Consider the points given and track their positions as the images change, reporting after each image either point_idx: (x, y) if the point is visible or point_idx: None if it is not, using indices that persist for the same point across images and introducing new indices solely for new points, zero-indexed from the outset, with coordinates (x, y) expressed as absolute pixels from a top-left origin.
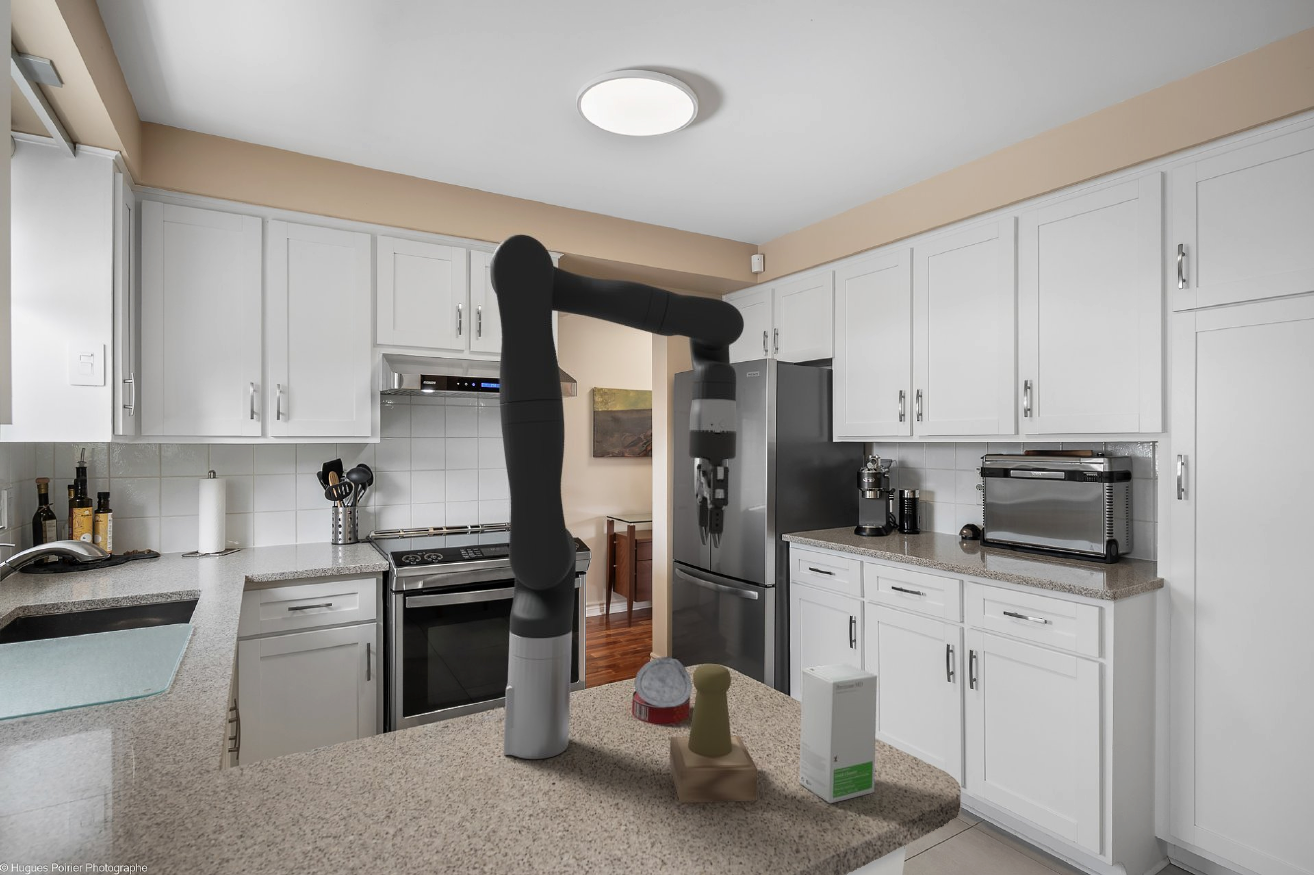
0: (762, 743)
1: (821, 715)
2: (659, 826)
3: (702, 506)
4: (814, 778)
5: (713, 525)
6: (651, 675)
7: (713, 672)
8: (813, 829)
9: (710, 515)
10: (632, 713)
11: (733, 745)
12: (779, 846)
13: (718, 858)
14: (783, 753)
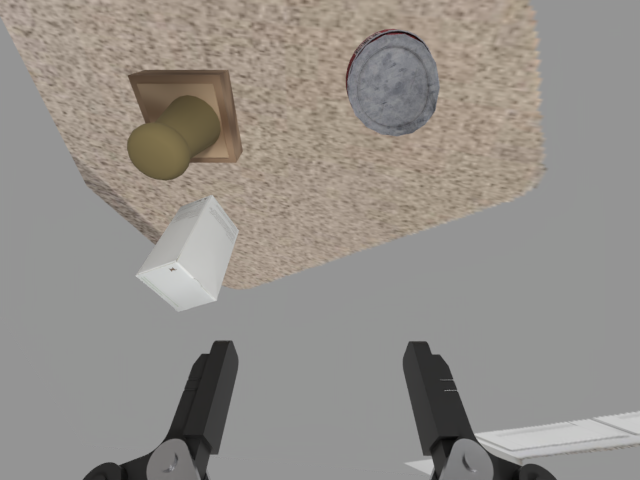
0: (291, 184)
1: (162, 244)
2: (90, 37)
3: (432, 430)
4: (189, 207)
5: (191, 373)
6: (410, 70)
7: (131, 156)
8: (140, 183)
9: (194, 407)
10: (387, 29)
11: (204, 150)
12: (104, 151)
13: (61, 93)
14: (270, 197)
